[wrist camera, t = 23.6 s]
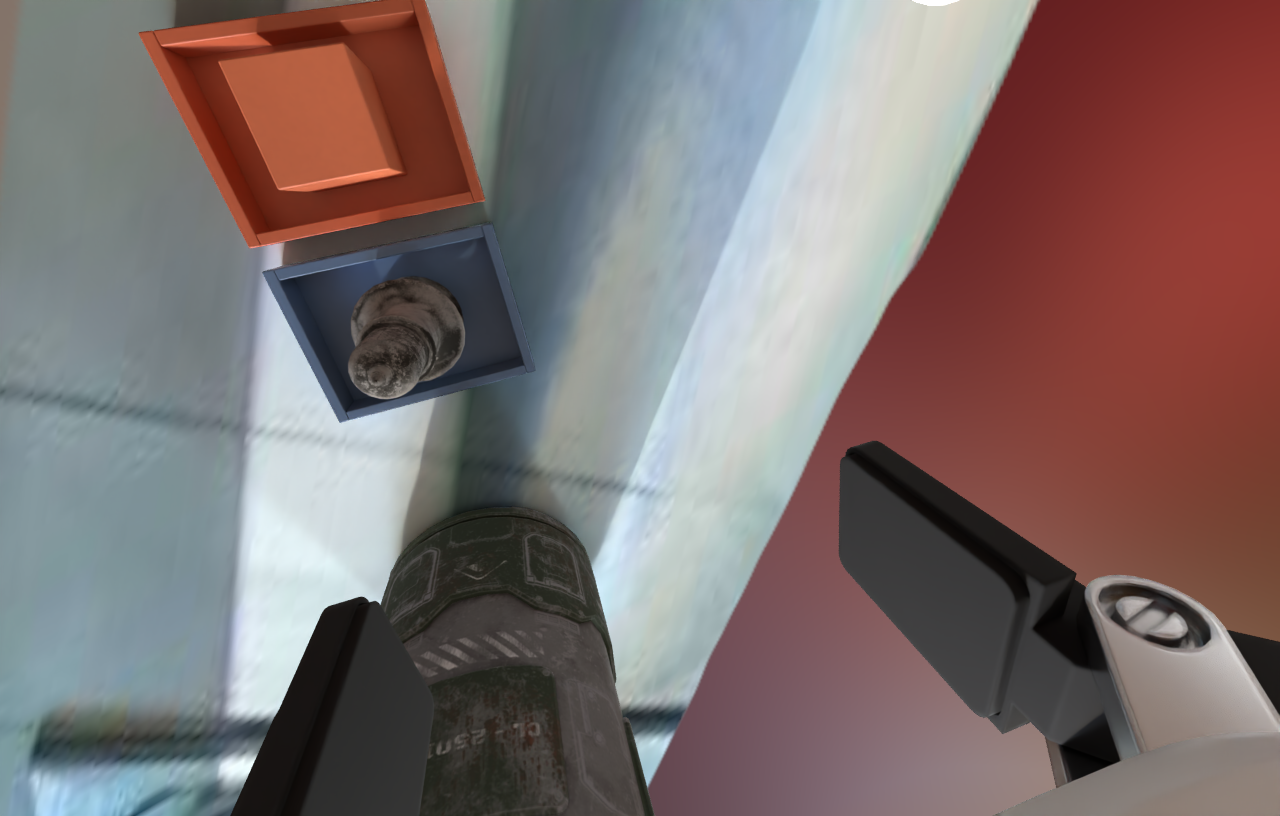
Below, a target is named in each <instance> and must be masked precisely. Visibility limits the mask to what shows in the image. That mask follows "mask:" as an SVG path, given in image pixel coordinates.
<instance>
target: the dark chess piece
mask: <svg viewBox="0 0 1280 816" xmlns="http://www.w3.org/2000/svg"><path fill="white" fill-rule="evenodd" d="M463 322H464V318H463V314H462V310H461V307H460V305H459V303H458V301H457V299H456V298H455V297H454V296H453V294H452V293H451V292H450V291H449V290H448V289H447V288H445V287H444V286H442V285H441V284H440V283H438V282H436V281H433V280H431V279H428V278H425V277H418V276H408V277H401V278H398V279H396V280H388V281H385V282H383V283H380V284H377V285H375V286H373V287H372V288H371V289H369V290H368V291H367V292H365V293H364V294H363V295H362V296H361V298H360V299H359V301H358V302H357V303H356V305H355V306H354V310H353V313H352V317H351V335H352V338H353V341H354V344H355V349H354V350H353V352H352V353H351V355H350V359H349V362H348V372H349V375H350V378H351V380H352V382H353V383H354V384H355V386H356V387H357V388H358V389H360V390H361V391H362V392H363V393H365V394H367V395H369V396H372V397H375V398H379V399H392V398H397V397H399V396H402V395H404V394H406V393H407V392H409V391H410V390H411V389H413V387H414V386H415V385H416V383H417V382H420V381H427V380H431V379H434V378H436V377H439V376H441V375H443V374H444V373H446V372H447V371H448V370H449V369H451V368H452V367H453V366H454V365H455V363H456V362H457V360H458V359H459V358H460V356H461V353H462V350H463V348H464V345H465V328H464V324H463Z"/></svg>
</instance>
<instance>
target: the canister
mask: <svg viewBox="0 0 1280 816" xmlns="http://www.w3.org/2000/svg"><path fill="white" fill-rule="evenodd" d="M381 607H382V609H383V610H384V612H385V614H386V616H387V617H388V619H389V621H390V622H391V624H392V626H393V628H394V629H395V631H396V633H397V634H398V636H399V638H400V640H401V641H402V643H403V645H404V646H405V648H406V650H407V652H408V653H409V655H410V657H411V658H412V660H413V662H414V663H415V665H416V667H417V669H418V670H419V672H420V674H421V675H422V677H423V679H424V681H425V682H426V684H427V686H428V687H429V689H430V691H431V693H432V697H433V702H434V715H433V722H432V729H431V736H430V743H429V750H428V757H427V764H426V771H425V778H424V785H423V792H422V799H421V807H420V814H419V816H655V815H654V812H653V808H652V804H651V800H650V796H649V793H648V789H647V785H646V781H645V777H644V774H643V770H642V766H641V762H640V758H639V755H638V751H637V747H636V743H635V739H634V736H633V732H632V728H631V724H630V721H629V719H628V718H626V717H624V718H623V716H622V712H621V708H620V703H619V699H618V695H617V691H616V687H615V683H616V673H615V665H614V657H613V649H612V644H611V640H610V636H609V632H608V628H607V624H606V620H605V616H604V613H603V609H602V605H601V601H600V597H599V593H598V589H597V585H596V581H595V577H594V574H593V571H592V568H591V564H590V561H589V558H588V555H587V553H586V550H585V548H584V547H583V545H582V544H581V542H580V541H579V539H578V538H577V536H576V535H575V534H574V533H573V532H572V531H571V530H569V529H568V528H567V527H566V526H565V525H564V524H562V523H560V522H558V521H557V520H555V519H553V518H551V517H550V516H548V515H546V514H543V513H540V512H537V511H535V510H532V509H528V508H521V507H514V506H511V507H507V508H485V509H479V510H474V511H468V512H465V513H462V514H459V515H456V516H453V517H450V518H448V519H446V520H444V521H442V522H440V523H438V524H436V525H434V526H433V527H431V528H429V529H427V530H426V531H425V532H424V533H422V534H421V535H420V536H419V537H417V538H416V539H415V540H414V541H412V542H411V543H410V544H409V545H408V546H407V548H406V549H405V550H404V551H403V552H402V554H401V555H400V556H399V558H398V559H397V561H396V563H395V565H394V567H393V569H392V571H391V573H390V577H389V581H388V584H387V587H386V590H385V593H384V596H383V599H382V602H381Z"/></svg>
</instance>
